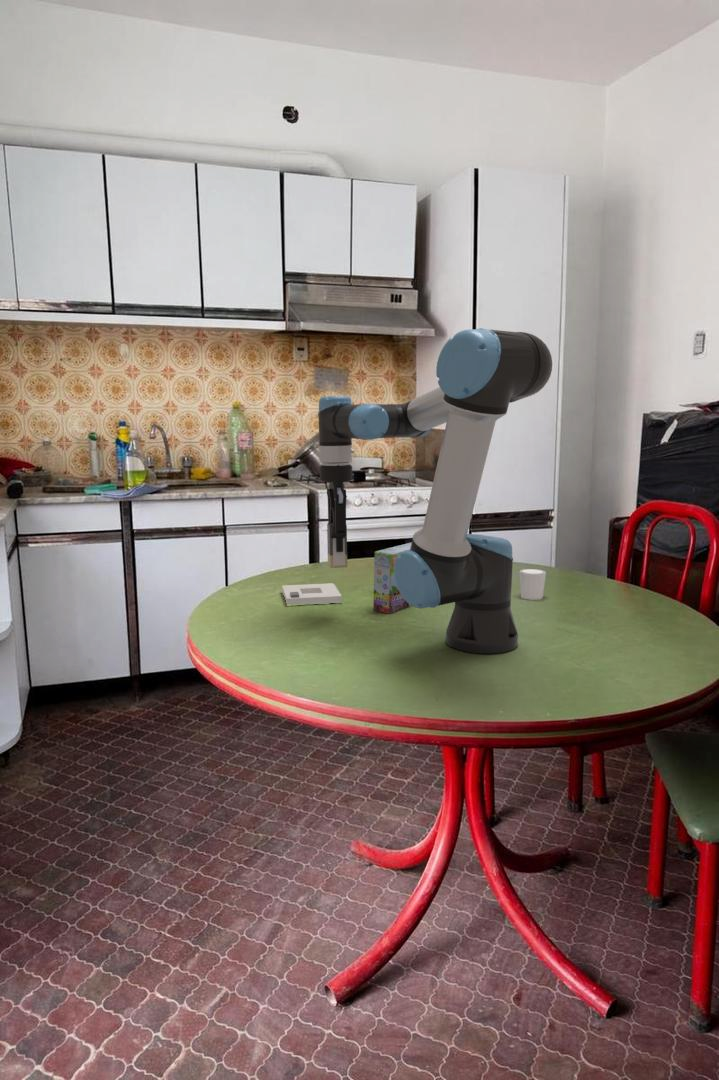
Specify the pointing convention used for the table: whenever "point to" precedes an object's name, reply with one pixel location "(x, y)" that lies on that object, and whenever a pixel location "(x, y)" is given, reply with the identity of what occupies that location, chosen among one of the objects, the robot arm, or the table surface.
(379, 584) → the snack box
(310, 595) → the socket plate
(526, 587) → the white cup
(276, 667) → the table surface
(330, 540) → the plug
